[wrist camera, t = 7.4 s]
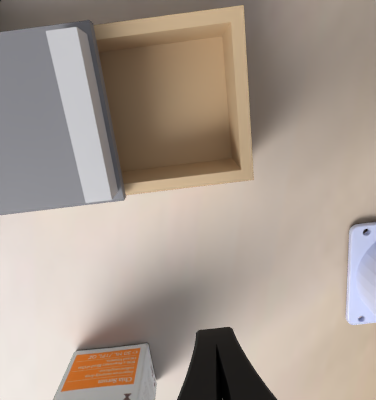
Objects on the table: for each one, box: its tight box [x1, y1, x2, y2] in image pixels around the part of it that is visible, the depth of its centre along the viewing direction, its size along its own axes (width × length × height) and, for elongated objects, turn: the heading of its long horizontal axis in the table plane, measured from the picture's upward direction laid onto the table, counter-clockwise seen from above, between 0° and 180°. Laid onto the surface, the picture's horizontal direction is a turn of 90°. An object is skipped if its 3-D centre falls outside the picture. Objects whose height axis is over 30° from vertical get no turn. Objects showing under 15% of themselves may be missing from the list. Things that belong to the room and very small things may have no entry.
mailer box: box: [93, 5, 254, 195], centre depth 17 cm, size 14×8×4 cm, turn 97°
